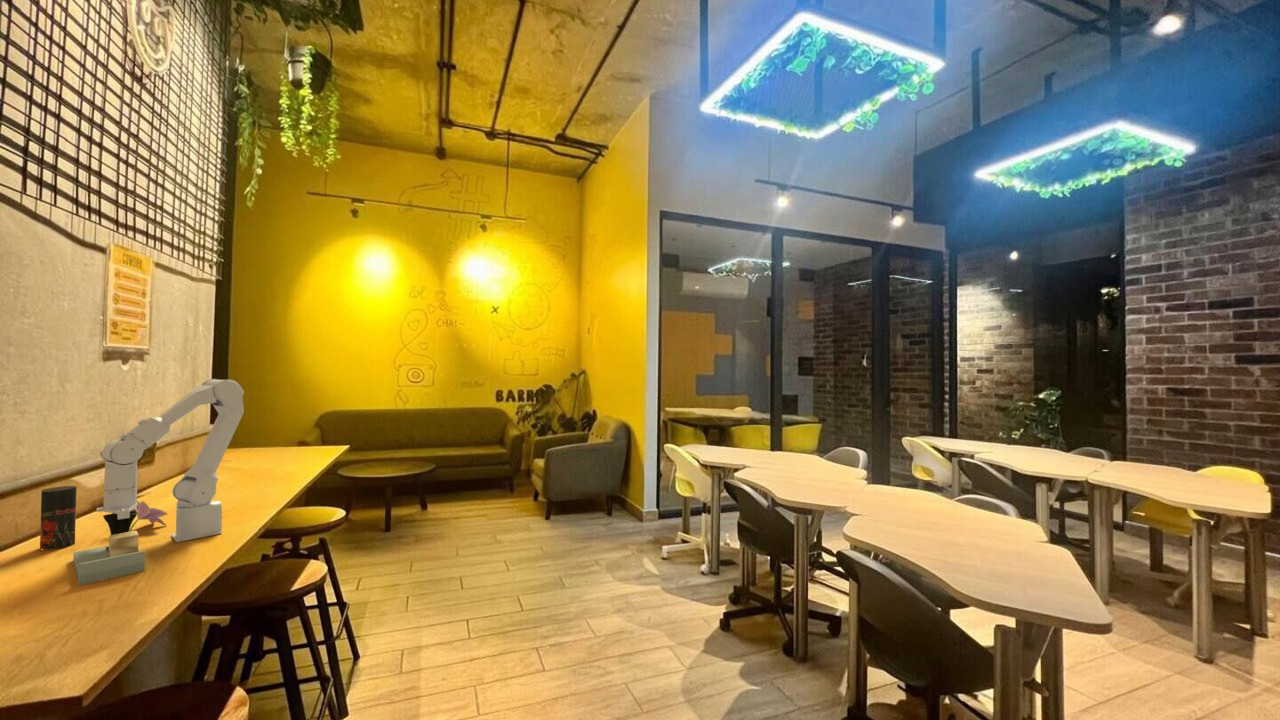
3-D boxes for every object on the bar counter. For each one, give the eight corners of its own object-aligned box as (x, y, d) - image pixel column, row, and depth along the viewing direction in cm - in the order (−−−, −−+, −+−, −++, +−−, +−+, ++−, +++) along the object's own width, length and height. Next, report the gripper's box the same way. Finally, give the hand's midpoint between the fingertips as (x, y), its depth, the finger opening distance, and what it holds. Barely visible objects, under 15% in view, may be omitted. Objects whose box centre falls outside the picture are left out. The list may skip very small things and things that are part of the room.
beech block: (135, 548, 122) (136, 530, 122) (138, 553, 119) (138, 534, 119) (109, 553, 118) (109, 535, 118) (111, 558, 116) (111, 539, 116)
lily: (165, 535, 140) (182, 501, 145) (110, 528, 132) (129, 492, 137) (155, 540, 146) (172, 507, 151) (102, 533, 139) (121, 499, 144)
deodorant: (80, 543, 130) (81, 487, 130) (47, 551, 124) (48, 492, 125) (67, 541, 132) (69, 485, 132) (34, 548, 126) (36, 490, 126)
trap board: (132, 548, 127) (132, 531, 127) (144, 570, 114) (145, 551, 114) (73, 560, 119) (73, 541, 119) (79, 585, 106) (79, 564, 106)
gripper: (94, 486, 125) (93, 539, 125) (100, 496, 116) (98, 553, 116) (134, 481, 131) (132, 532, 130) (142, 490, 122) (140, 545, 121)
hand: (119, 542), depth 124 cm, fingers closed
